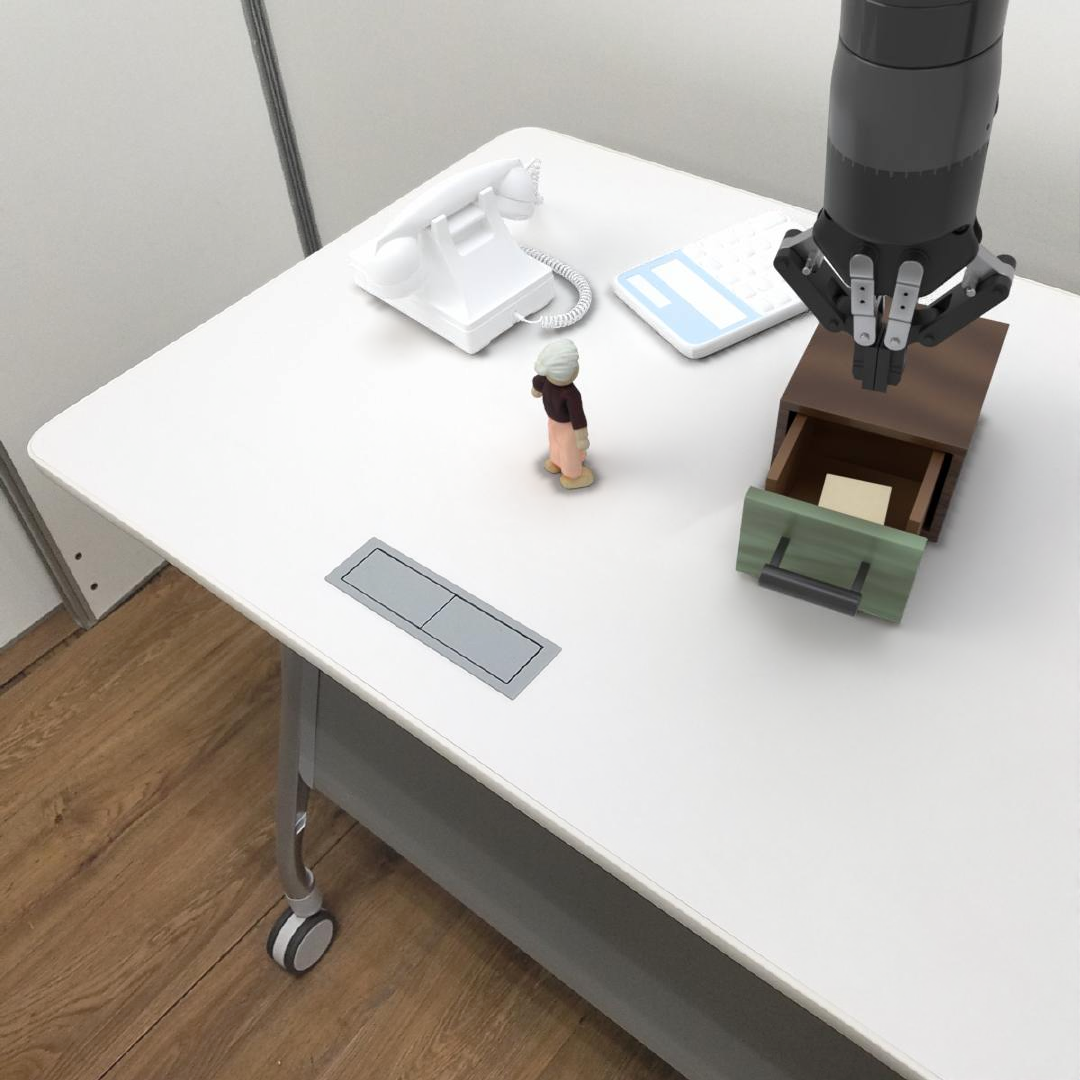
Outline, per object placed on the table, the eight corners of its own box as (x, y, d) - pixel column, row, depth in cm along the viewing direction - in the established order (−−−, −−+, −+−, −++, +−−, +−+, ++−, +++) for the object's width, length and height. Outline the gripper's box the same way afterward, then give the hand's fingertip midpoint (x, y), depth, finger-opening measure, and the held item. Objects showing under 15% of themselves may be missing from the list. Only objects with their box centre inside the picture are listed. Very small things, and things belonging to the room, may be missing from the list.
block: (880, 529, 80) (892, 486, 76) (870, 575, 77) (881, 533, 73) (818, 516, 81) (827, 473, 77) (806, 560, 78) (814, 518, 75)
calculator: (866, 286, 102) (869, 268, 100) (690, 365, 96) (691, 348, 94) (774, 220, 109) (776, 203, 108) (606, 290, 103) (606, 273, 102)
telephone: (505, 193, 115) (495, 78, 106) (656, 268, 105) (660, 148, 96) (318, 305, 104) (288, 188, 95) (468, 401, 94) (451, 280, 85)
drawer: (883, 671, 73) (906, 599, 67) (714, 614, 77) (722, 541, 71) (944, 492, 83) (969, 416, 77) (792, 450, 87) (804, 374, 81)
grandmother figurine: (616, 479, 87) (615, 354, 78) (581, 504, 86) (576, 380, 76) (551, 432, 91) (543, 308, 82) (516, 455, 90) (504, 331, 80)
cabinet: (936, 542, 81) (968, 449, 74) (766, 492, 85) (780, 399, 78) (978, 418, 89) (1010, 323, 82) (821, 377, 94) (838, 284, 86)
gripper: (751, 152, 53) (752, 406, 66) (1046, 180, 48) (982, 447, 62) (792, 68, 57) (785, 324, 70) (1068, 87, 52) (1004, 357, 65)
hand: (877, 381), depth 66 cm, fingers closed
